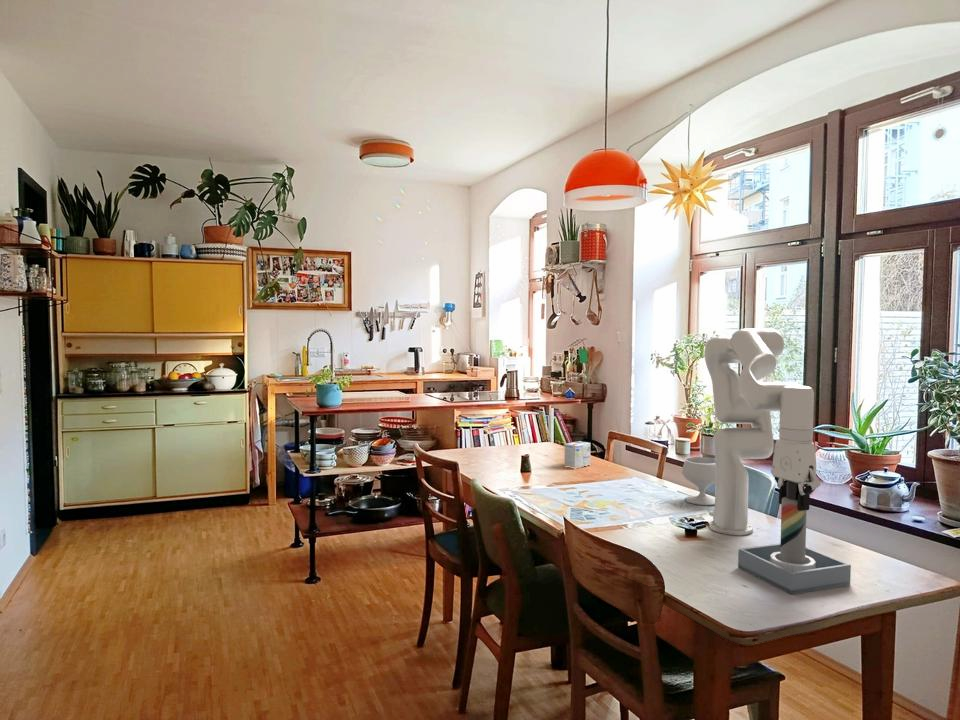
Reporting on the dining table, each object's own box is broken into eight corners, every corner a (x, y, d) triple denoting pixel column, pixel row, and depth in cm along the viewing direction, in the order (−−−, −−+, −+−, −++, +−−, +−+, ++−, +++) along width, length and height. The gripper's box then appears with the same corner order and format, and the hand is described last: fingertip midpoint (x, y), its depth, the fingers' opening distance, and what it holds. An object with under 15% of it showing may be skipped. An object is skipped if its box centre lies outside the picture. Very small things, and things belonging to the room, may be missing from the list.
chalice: (707, 509, 223) (708, 466, 223) (673, 500, 235) (674, 459, 234) (731, 502, 232) (731, 461, 231) (697, 494, 243) (698, 454, 242)
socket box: (738, 567, 169) (738, 548, 169) (793, 559, 175) (793, 541, 175) (791, 594, 152) (791, 573, 152) (850, 585, 158) (850, 564, 158)
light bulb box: (579, 464, 297) (579, 440, 296) (591, 466, 292) (591, 442, 291) (563, 467, 290) (563, 443, 289) (574, 469, 285) (575, 445, 284)
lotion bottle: (783, 553, 167) (785, 476, 166) (807, 558, 164) (809, 479, 163) (777, 559, 163) (779, 480, 162) (801, 564, 159) (804, 484, 158)
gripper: (758, 430, 169) (757, 499, 170) (811, 441, 152) (809, 517, 153) (781, 429, 171) (780, 497, 172) (836, 440, 155) (833, 515, 156)
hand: (793, 506), depth 163 cm, fingers closed on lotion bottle, 5 cm apart
